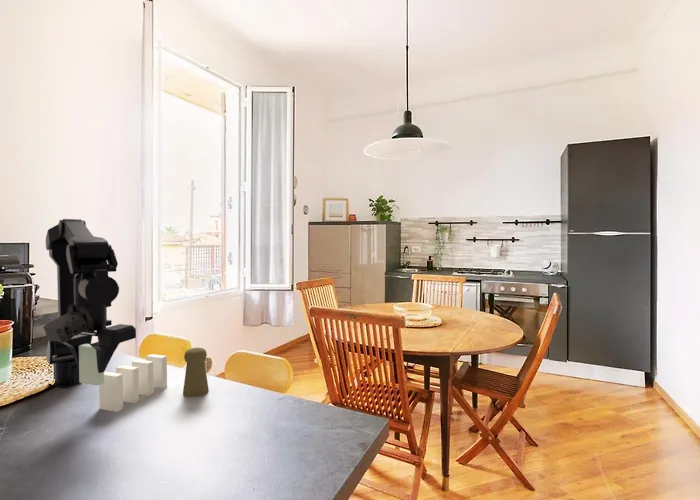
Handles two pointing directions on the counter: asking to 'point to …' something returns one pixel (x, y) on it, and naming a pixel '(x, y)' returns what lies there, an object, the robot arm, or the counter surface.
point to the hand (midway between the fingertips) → (91, 370)
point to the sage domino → (89, 366)
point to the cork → (195, 373)
